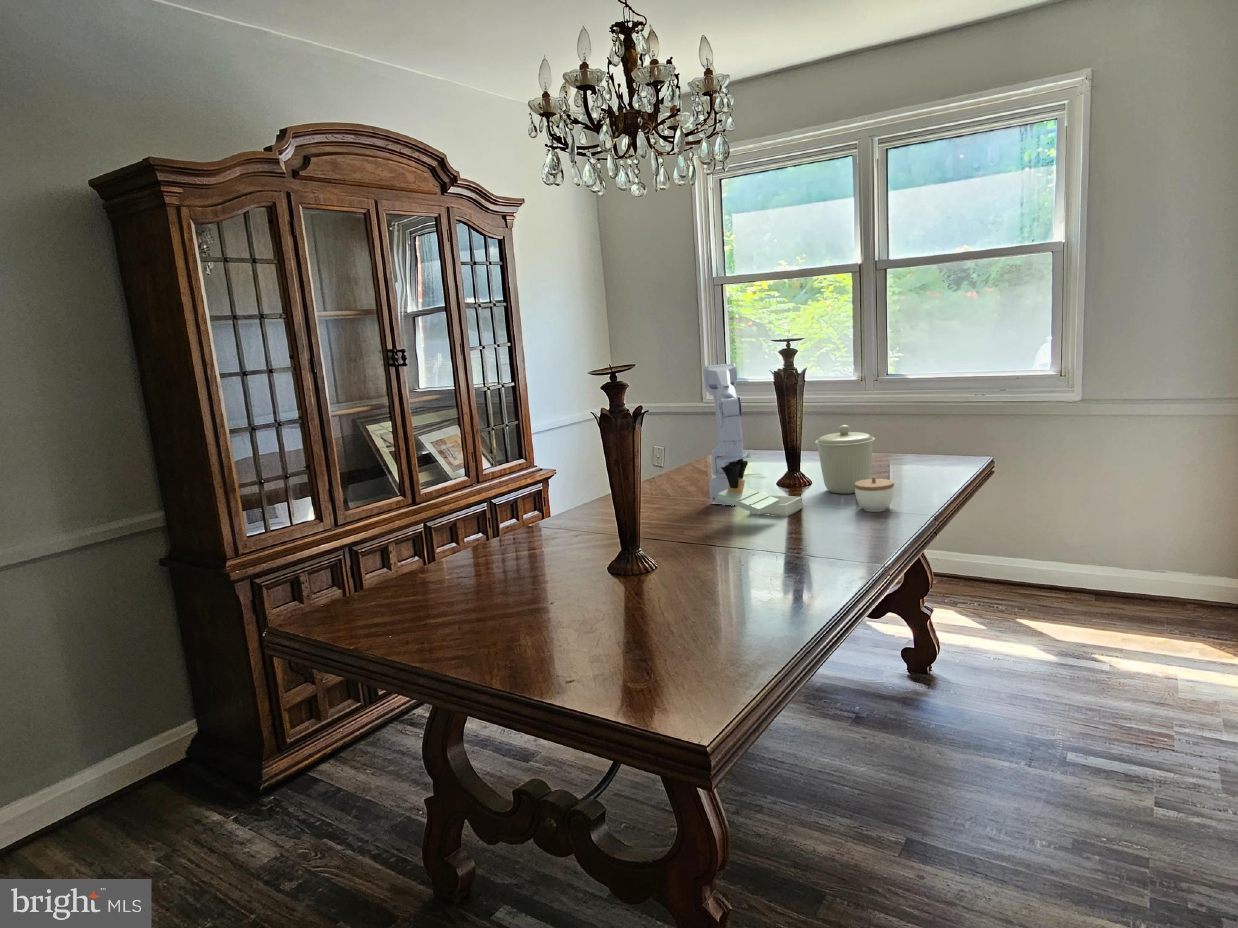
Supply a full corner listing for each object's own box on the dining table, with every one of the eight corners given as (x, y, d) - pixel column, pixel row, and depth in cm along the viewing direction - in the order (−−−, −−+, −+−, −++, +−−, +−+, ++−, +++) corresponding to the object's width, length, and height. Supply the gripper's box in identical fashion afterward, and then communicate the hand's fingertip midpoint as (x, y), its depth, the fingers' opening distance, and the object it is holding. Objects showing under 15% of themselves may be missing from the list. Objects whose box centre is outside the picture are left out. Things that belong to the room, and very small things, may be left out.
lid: (717, 498, 216) (720, 480, 214) (738, 489, 224) (741, 471, 222) (758, 514, 208) (761, 495, 206) (778, 504, 216) (782, 486, 214)
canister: (806, 491, 248) (802, 427, 244) (849, 481, 255) (846, 419, 252) (844, 499, 232) (840, 431, 228) (889, 489, 239) (886, 422, 235)
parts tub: (750, 513, 227) (749, 502, 226) (766, 505, 234) (766, 494, 234) (786, 516, 219) (785, 504, 219) (802, 508, 227) (801, 496, 226)
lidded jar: (900, 511, 212) (899, 478, 210) (861, 515, 212) (860, 482, 211) (887, 503, 223) (886, 471, 221) (851, 506, 223) (849, 475, 221)
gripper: (730, 444, 207) (734, 493, 210) (757, 436, 218) (761, 482, 220) (709, 444, 212) (713, 492, 214) (736, 435, 223) (740, 481, 225)
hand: (736, 487), depth 218 cm, fingers closed on lid
